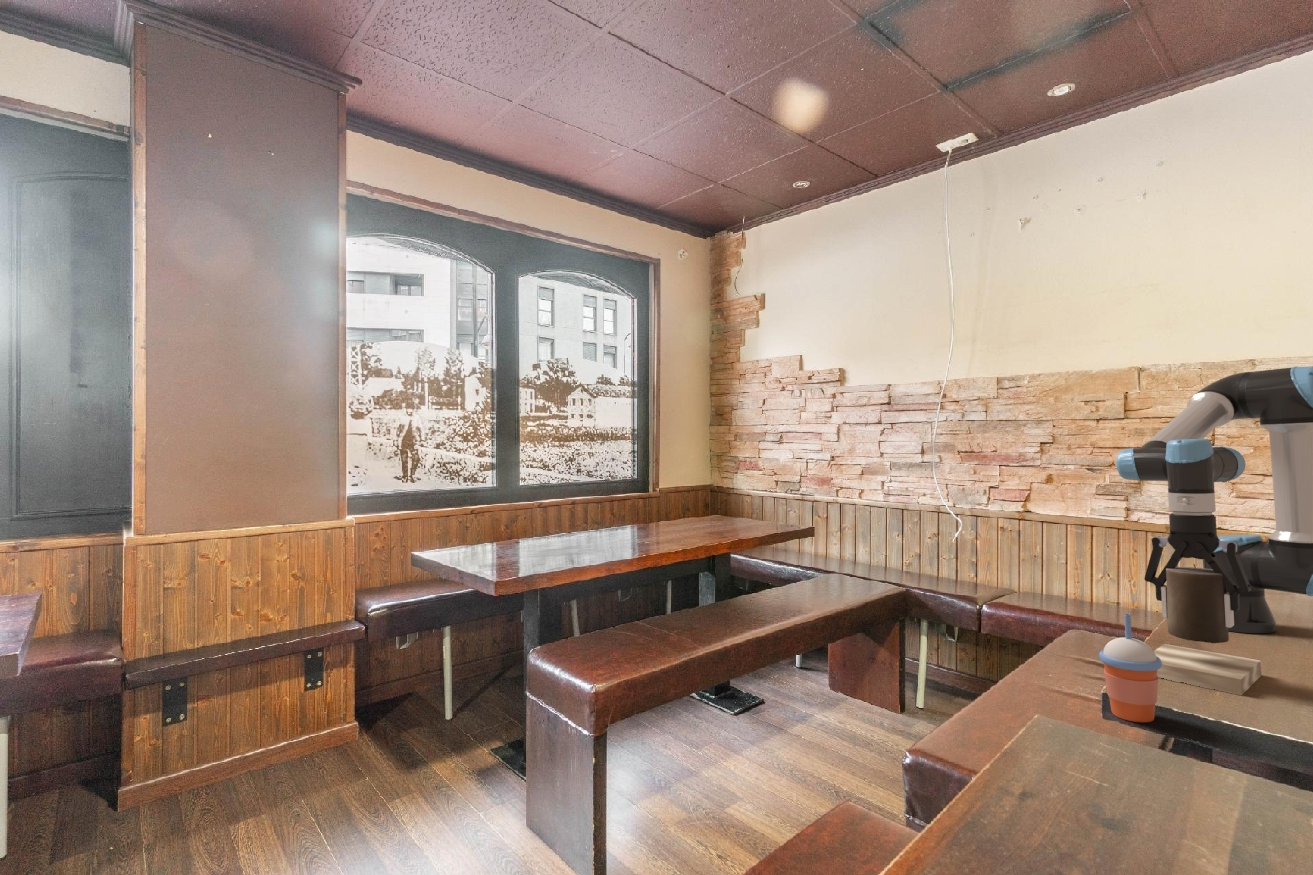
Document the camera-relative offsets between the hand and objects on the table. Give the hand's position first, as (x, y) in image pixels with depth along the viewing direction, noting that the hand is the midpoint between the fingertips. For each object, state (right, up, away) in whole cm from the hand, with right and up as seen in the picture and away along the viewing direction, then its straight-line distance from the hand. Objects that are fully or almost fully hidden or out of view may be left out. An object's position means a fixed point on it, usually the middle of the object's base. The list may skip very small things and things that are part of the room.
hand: (1197, 621), depth 135 cm
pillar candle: (0, -3, 0) cm, 3 cm away
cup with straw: (-27, -12, -19) cm, 35 cm away
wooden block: (0, -11, 0) cm, 11 cm away
